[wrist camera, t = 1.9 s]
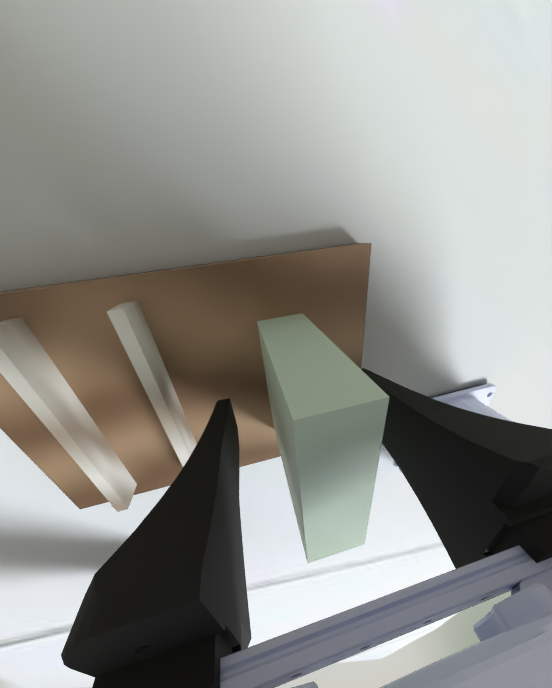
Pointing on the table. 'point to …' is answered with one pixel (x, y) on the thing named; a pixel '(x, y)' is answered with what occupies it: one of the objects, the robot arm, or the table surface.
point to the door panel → (323, 432)
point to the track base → (160, 363)
